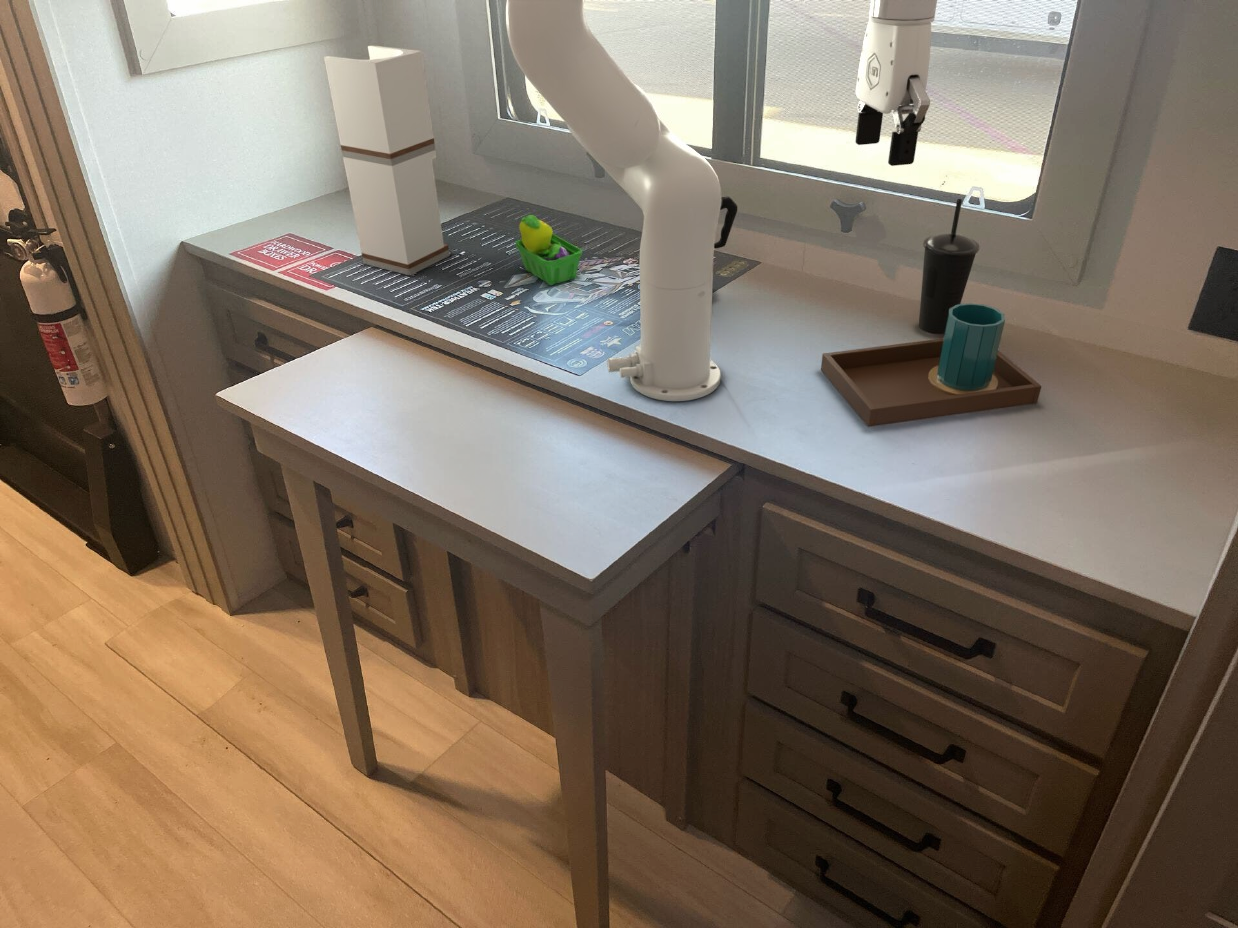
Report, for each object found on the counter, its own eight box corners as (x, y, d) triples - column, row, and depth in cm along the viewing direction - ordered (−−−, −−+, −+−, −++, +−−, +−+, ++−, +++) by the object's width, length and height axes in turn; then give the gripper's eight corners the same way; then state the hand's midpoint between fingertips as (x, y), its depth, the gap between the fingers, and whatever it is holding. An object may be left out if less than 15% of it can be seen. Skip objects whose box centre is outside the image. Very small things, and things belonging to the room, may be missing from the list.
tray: (867, 430, 116) (870, 409, 114) (820, 373, 129) (822, 353, 127) (1036, 406, 120) (1042, 386, 118) (974, 353, 132) (978, 333, 131)
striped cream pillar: (449, 255, 169) (422, 51, 149) (409, 275, 162) (375, 63, 142) (404, 244, 174) (371, 45, 154) (363, 263, 167) (323, 57, 147)
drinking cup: (964, 343, 135) (992, 210, 124) (910, 339, 136) (933, 207, 125) (959, 320, 141) (985, 192, 130) (907, 317, 143) (929, 190, 131)
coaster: (948, 400, 120) (949, 398, 120) (916, 369, 128) (916, 367, 128) (1011, 392, 122) (1011, 390, 122) (975, 361, 129) (976, 359, 129)
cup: (952, 394, 121) (966, 328, 116) (927, 369, 127) (939, 306, 122) (1000, 387, 122) (1015, 322, 117) (973, 363, 128) (986, 300, 123)
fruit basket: (586, 279, 158) (583, 215, 152) (542, 291, 154) (536, 226, 148) (552, 259, 166) (548, 197, 160) (509, 271, 162) (503, 208, 156)
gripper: (843, -1, 115) (829, 138, 125) (907, 20, 101) (885, 176, 111) (899, -5, 116) (881, 134, 126) (969, 16, 102) (943, 170, 112)
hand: (883, 153), depth 118 cm, fingers open, 9 cm apart
